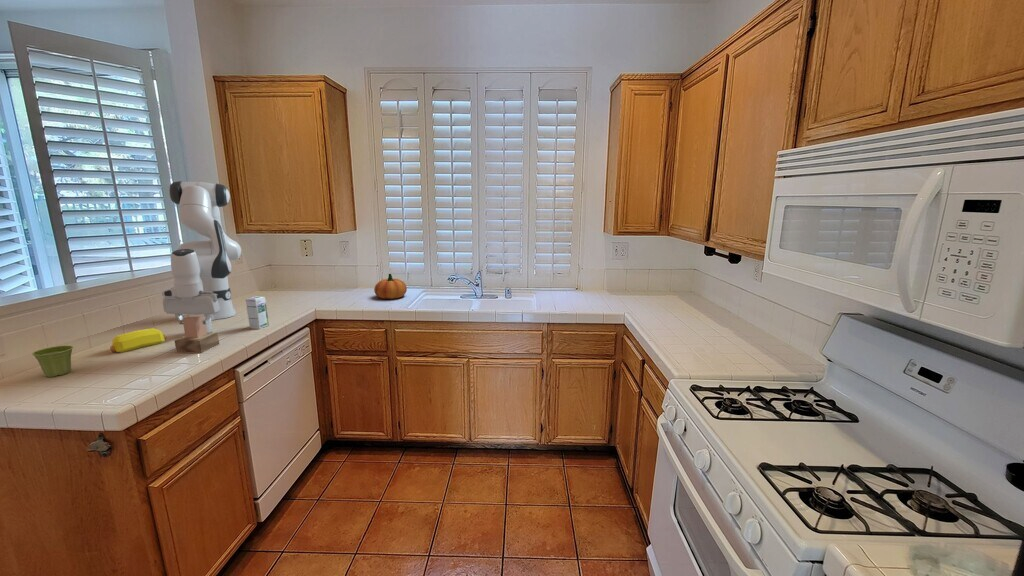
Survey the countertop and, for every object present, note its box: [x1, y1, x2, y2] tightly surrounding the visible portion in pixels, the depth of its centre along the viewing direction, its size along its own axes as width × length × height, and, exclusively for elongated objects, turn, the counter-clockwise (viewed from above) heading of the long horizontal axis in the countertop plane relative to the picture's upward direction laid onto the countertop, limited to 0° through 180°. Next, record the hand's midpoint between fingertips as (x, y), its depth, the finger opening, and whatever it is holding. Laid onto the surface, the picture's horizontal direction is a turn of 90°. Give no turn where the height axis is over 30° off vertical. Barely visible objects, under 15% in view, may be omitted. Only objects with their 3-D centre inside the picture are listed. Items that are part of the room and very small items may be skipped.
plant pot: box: [31, 345, 74, 378], centre depth 141 cm, size 9×9×9 cm
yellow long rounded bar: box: [109, 327, 167, 353], centre depth 168 cm, size 18×7×8 cm
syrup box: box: [245, 295, 270, 330], centre depth 194 cm, size 6×6×14 cm
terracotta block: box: [182, 315, 207, 338], centre depth 165 cm, size 5×5×8 cm
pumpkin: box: [373, 273, 408, 300], centre depth 256 cm, size 19×19×15 cm
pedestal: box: [174, 332, 220, 354], centre depth 166 cm, size 10×10×5 cm
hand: (194, 324), depth 165 cm, fingers open, 8 cm apart
